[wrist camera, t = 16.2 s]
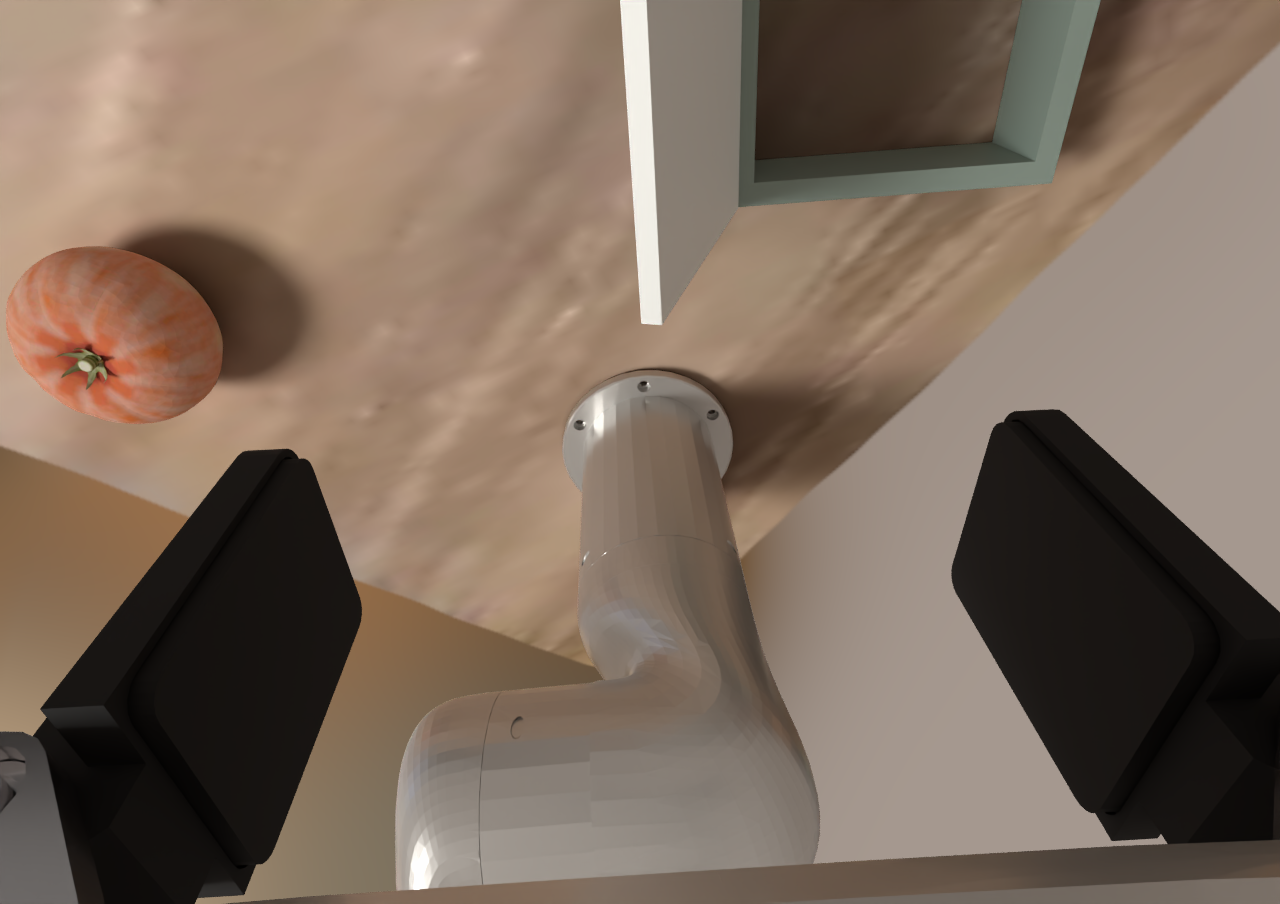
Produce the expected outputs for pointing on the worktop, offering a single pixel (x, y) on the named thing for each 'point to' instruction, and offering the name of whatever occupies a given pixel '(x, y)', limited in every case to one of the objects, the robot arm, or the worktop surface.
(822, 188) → the open hinged box
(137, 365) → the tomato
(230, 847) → the robot arm
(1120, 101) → the worktop surface
